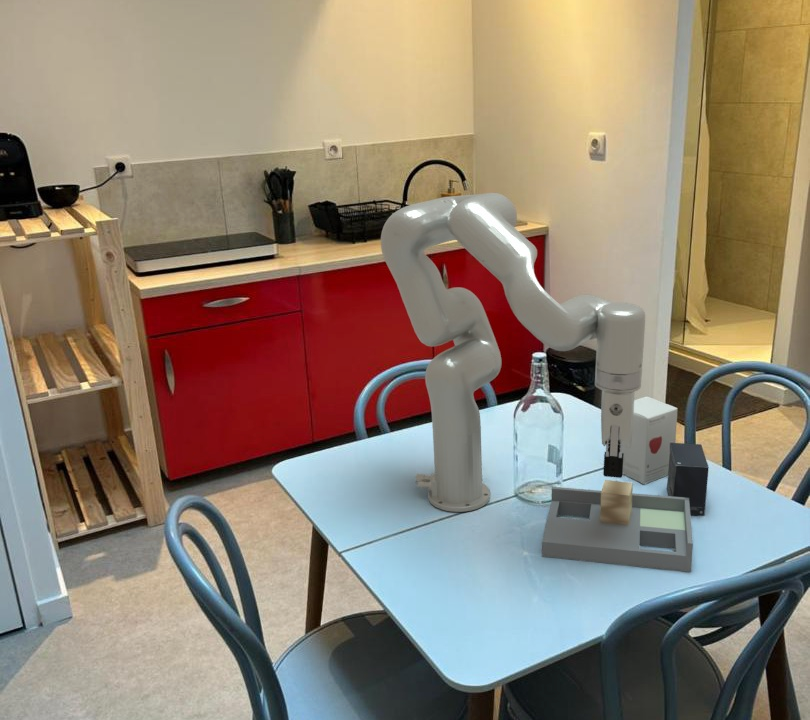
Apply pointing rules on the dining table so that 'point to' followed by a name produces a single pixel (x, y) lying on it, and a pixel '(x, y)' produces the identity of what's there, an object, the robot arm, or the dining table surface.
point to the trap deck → (619, 531)
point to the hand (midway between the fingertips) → (612, 474)
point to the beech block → (616, 502)
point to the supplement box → (650, 440)
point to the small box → (688, 475)
